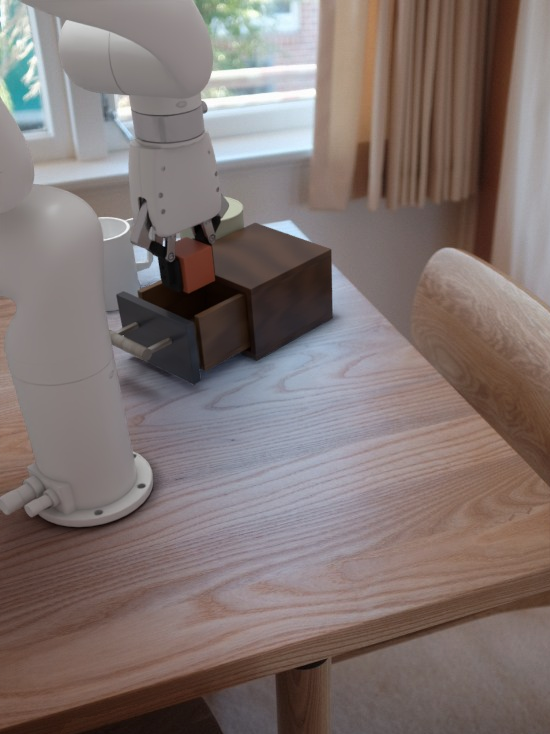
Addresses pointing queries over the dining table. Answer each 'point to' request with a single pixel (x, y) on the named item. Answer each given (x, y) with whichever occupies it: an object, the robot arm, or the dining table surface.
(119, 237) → the cup
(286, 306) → the cabinet
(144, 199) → the robot arm
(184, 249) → the block
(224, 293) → the drawer
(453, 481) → the dining table surface
